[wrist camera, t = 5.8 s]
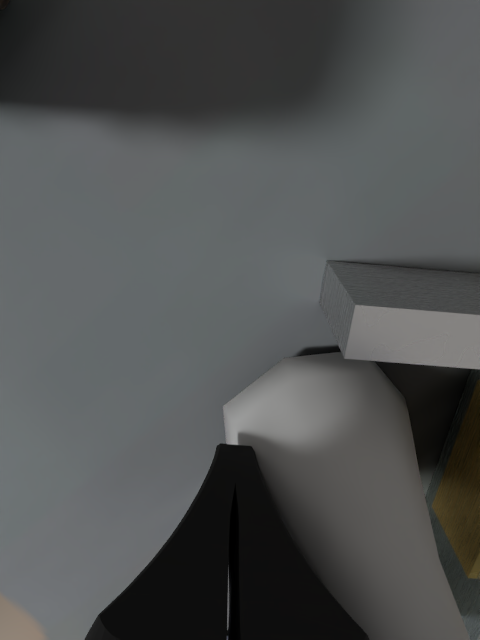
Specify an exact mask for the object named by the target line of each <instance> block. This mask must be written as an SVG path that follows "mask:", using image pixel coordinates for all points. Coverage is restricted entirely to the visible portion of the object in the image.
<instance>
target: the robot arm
mask: <svg viewBox="0 0 480 640" xmlns="http://www.w3.org/2000/svg"><path fill="white" fill-rule="evenodd" d="M228 566H229V628H228V636H227V593H228ZM85 640H370V639H369V637H368V635H367V634H366V633H365V631H364V630H363V629H362V628H361V627H360V626H359V625H358V624H357V623H356V622H355V621H354V620H353V619H352V617H351V616H350V615H349V614H348V613H347V612H346V611H345V610H344V608H343V607H342V606H341V605H340V604H339V603H338V601H337V600H336V599H335V598H334V596H333V595H332V594H331V593H330V592H329V590H328V589H327V588H326V587H325V585H324V584H323V582H322V581H321V580H320V578H319V577H318V576H317V574H316V573H315V572H314V570H313V569H312V568H311V566H310V565H309V564H308V562H307V561H306V559H305V558H304V556H303V555H302V553H301V551H300V550H299V548H298V547H297V545H296V544H295V542H294V540H293V539H292V537H291V535H290V534H289V532H288V530H287V528H286V526H285V525H284V523H283V521H282V519H281V517H280V515H279V513H278V511H277V509H276V507H275V505H274V503H273V501H272V498H271V496H270V494H269V491H268V489H267V487H266V484H265V482H264V479H263V477H262V474H261V471H260V468H259V465H258V461H257V458H256V454H255V451H254V450H253V448H252V446H245V445H232V444H219V445H218V446H217V447H216V452H215V456H214V459H213V462H212V464H211V467H210V469H209V471H208V474H207V476H206V478H205V480H204V482H203V484H202V486H201V488H200V490H199V492H198V494H197V496H196V497H195V499H194V501H193V502H192V504H191V506H190V508H189V509H188V511H187V513H186V514H185V516H184V517H183V519H182V520H181V522H180V523H179V525H178V526H177V528H176V529H175V531H174V532H173V534H172V535H171V536H170V538H169V539H168V540H167V542H166V543H165V544H164V545H163V547H162V548H161V549H160V551H159V552H158V553H157V554H156V556H155V557H154V558H153V559H152V561H151V562H150V563H149V564H148V565H147V566H146V567H145V568H144V570H143V571H142V572H141V573H140V574H139V575H138V576H137V577H136V578H135V579H134V581H133V582H132V583H131V584H130V585H129V586H128V587H127V588H126V589H125V590H124V591H123V592H122V593H121V594H120V595H119V596H118V597H117V598H116V599H115V600H114V601H113V602H112V603H111V604H109V605H108V606H107V607H106V608H105V609H104V610H103V611H102V612H101V613H100V614H99V615H98V617H97V618H96V620H95V622H94V623H93V625H92V627H91V629H90V630H89V632H88V634H87V636H86V638H85Z"/></svg>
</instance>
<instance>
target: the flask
mask: <svg viewBox="0 0 480 640" xmlns="http://www.w3.org/2000/svg"><path fill="white" fill-rule="evenodd" d="M223 414H224V424H225V434H226V444H232V445H245V446H252V448H253V450H254V451H255V454H256V458H257V461H258V465H259V468H260V471H261V474H262V477H263V479H264V482H265V484H266V487H267V489H268V491H269V494H270V496H271V498H272V501H273V503H274V505H275V507H276V509H277V511H278V513H279V515H280V517H281V519H282V521H283V523H284V525H285V526H286V528H287V530H288V532H289V534H290V535H291V537H292V539H293V540H294V542H295V544H296V545H297V547H298V548H299V550H300V551H301V553H302V555H303V556H304V558H305V559H306V561H307V562H308V564H309V565H310V566H311V568H312V569H313V570H314V572H315V573H316V574H317V576H318V577H319V578H320V580H321V581H322V582H323V584H324V585H325V587H326V588H327V589H328V590H329V592H330V593H331V594H332V595H333V596H334V598H335V599H336V600H337V601H338V603H339V604H340V605H341V606H342V607H343V608H344V610H345V611H346V612H347V613H348V614H349V615H350V616H351V617H352V619H353V620H354V621H355V622H356V623H357V624H358V625H359V626H360V627H361V628H362V629H363V630H364V631H365V633H366V634H367V635H368V637H369V639H370V640H470V638H469V635H468V633H467V630H466V627H465V625H464V622H463V620H462V617H461V614H460V612H459V609H458V607H457V604H456V601H455V599H454V596H453V594H452V591H451V589H450V586H449V583H448V581H447V578H446V576H445V573H444V570H443V568H442V565H441V563H440V560H439V556H438V551H437V547H436V542H435V538H434V534H433V529H432V525H431V521H430V516H429V512H428V508H427V503H426V499H425V494H424V490H423V486H422V481H421V477H420V473H419V467H418V462H417V456H416V451H415V445H414V440H413V434H412V429H411V423H410V418H409V413H408V409H407V404H406V400H405V398H404V396H403V395H402V394H401V393H400V392H399V390H398V389H397V388H396V387H395V386H394V384H393V383H392V382H391V381H390V380H389V378H388V377H387V376H386V375H385V374H384V372H383V371H382V370H381V369H380V368H379V366H378V365H377V364H376V363H375V362H374V361H368V360H356V359H344V357H343V355H342V352H335V353H325V354H316V355H307V356H297V357H288V358H284V359H282V360H281V361H280V362H278V363H277V364H276V365H275V366H273V367H272V368H271V369H270V370H268V371H267V372H266V373H265V374H263V375H262V376H261V377H259V378H258V379H257V380H256V381H254V382H253V383H252V384H251V385H249V386H248V387H247V388H245V389H244V390H243V391H242V392H240V393H239V394H238V395H237V396H235V397H234V398H233V399H232V400H230V401H229V402H228V403H226V404H225V405H224V406H223Z"/></svg>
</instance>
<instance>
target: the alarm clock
mask: <svg viewBox="0 0 480 640" xmlns="http://www.w3.org/2000/svg"><path fill="white" fill-rule="evenodd" d="M8 4H9V0H0V10H2V9H5V8H6V6H7V5H8Z"/></svg>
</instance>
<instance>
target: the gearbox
mask: <svg viewBox="0 0 480 640" xmlns="http://www.w3.org/2000/svg"><path fill="white" fill-rule="evenodd" d="M320 305H321V307H322V309H323V312H324V314H325V316H326V318H327V321H328V323H329V325H330V327H331V330H332V332H333V334H334V336H335V339H336V341H337V343H338V345H339V348H340V350H341V352H342V355H343V357H344V359H356V360H368V361H381V362H393V363H406V364H418V365H431V366H443V367H456V368H468V369H471V370H470V373H469V376H468V379H467V382H466V385H465V387H464V390H463V393H462V396H461V399H460V401H459V404H458V407H457V410H456V413H455V416H454V418H453V421H452V424H451V427H450V430H449V433H448V435H447V438H446V441H445V444H444V447H443V449H442V452H441V455H440V458H439V461H438V464H437V466H436V469H435V472H434V475H433V478H432V480H431V483H430V486H429V489H428V492H427V495H426V497H425V499H426V503H427V508H428V512H429V516H430V521H431V525H432V529H433V534H434V538H435V542H436V547H437V551H438V556H439V560H440V563H441V565H442V568H443V570H444V573H445V576H446V578H447V581H448V583H449V586H450V589H451V591H452V594H453V596H454V599H455V601H456V604H457V607H458V609H459V612H460V614H461V617H462V620H463V622H464V625H465V627H466V630H467V633H468V635H469V638H470V640H480V274H479V273H467V272H455V271H443V270H431V269H419V268H408V267H396V266H384V265H372V264H360V263H348V262H336V261H327V262H326V268H325V273H324V279H323V285H322V291H321V297H320Z"/></svg>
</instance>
